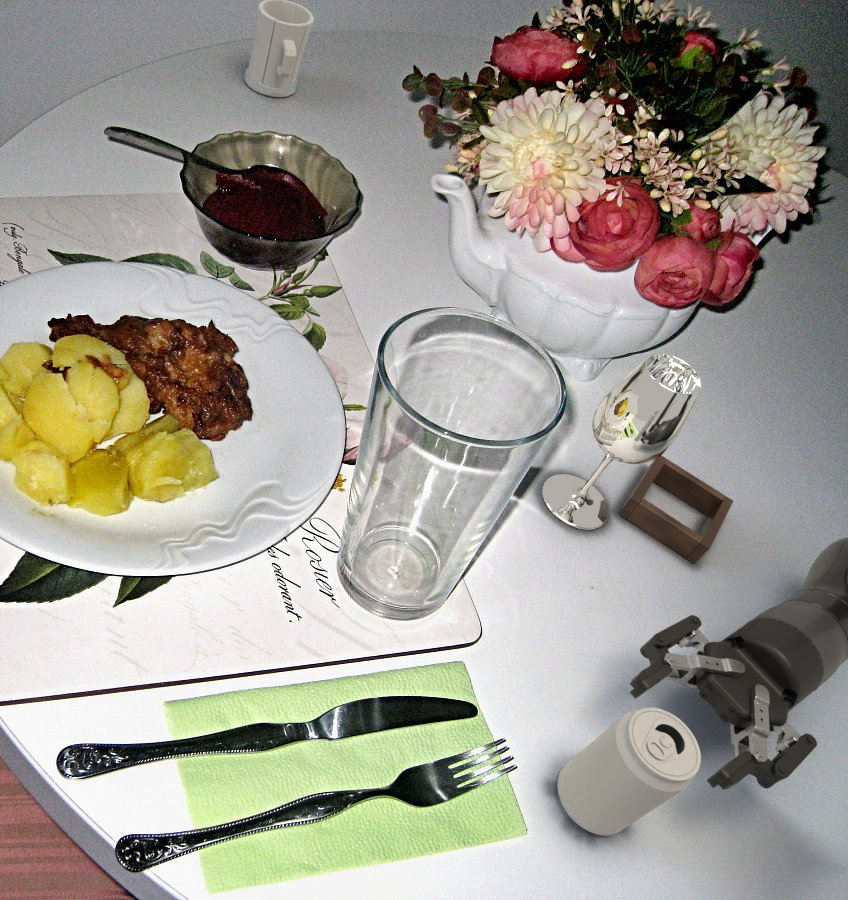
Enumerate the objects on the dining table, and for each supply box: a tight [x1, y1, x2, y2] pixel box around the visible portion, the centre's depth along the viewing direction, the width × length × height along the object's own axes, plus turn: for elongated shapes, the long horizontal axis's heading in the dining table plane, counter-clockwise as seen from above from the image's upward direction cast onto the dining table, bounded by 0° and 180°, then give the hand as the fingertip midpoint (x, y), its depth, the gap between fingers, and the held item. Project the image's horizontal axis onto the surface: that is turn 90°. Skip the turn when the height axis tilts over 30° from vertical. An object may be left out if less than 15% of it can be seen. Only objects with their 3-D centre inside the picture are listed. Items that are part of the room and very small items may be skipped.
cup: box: [243, 0, 315, 98], centre depth 143 cm, size 10×9×12 cm
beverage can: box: [557, 706, 702, 836], centre depth 71 cm, size 6×6×12 cm
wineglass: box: [541, 352, 703, 530], centre depth 91 cm, size 8×8×20 cm
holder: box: [617, 454, 734, 565], centre depth 99 cm, size 9×9×3 cm
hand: (675, 735), depth 73 cm, fingers open, 8 cm apart
